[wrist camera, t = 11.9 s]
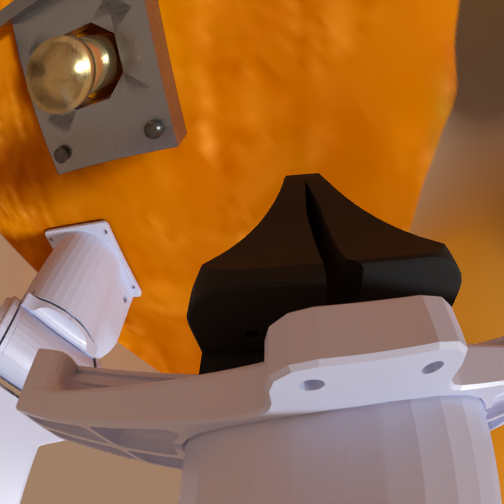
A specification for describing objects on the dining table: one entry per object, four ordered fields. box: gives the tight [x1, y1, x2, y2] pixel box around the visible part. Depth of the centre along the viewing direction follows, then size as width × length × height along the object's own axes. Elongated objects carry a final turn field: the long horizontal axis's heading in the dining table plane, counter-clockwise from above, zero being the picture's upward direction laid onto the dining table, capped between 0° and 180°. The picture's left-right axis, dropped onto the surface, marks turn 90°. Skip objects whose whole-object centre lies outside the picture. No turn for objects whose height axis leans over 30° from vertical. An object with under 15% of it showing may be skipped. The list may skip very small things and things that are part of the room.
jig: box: [0, 0, 187, 174], centre depth 15 cm, size 14×10×4 cm
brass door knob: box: [26, 33, 124, 114], centre depth 14 cm, size 5×5×6 cm
